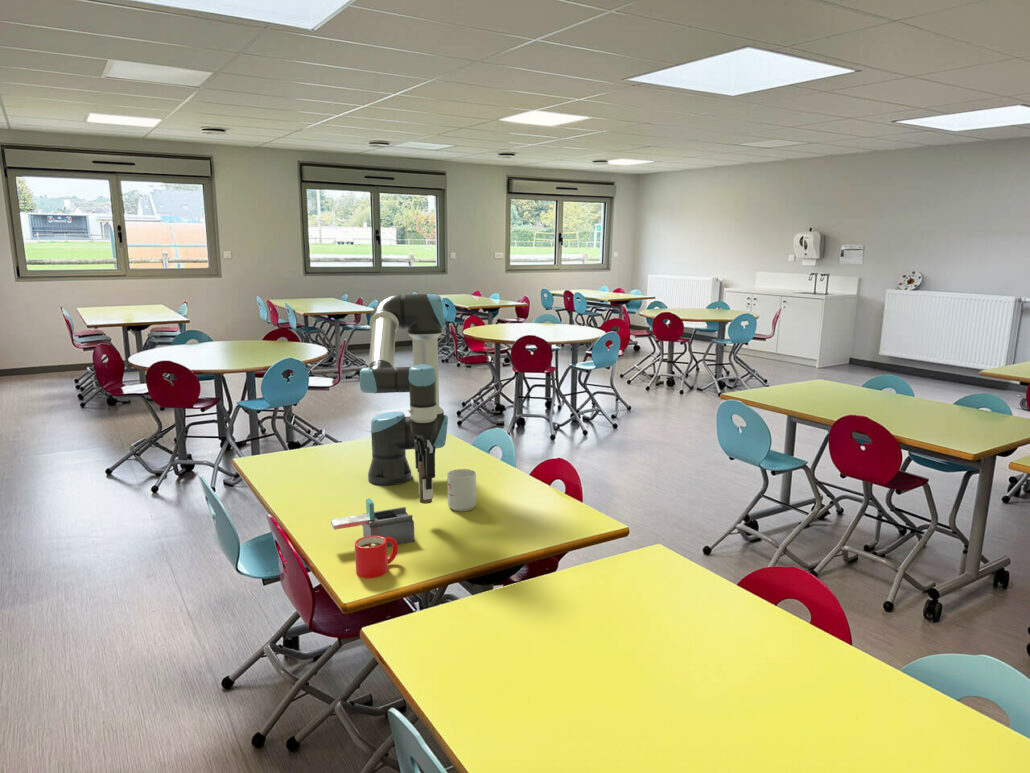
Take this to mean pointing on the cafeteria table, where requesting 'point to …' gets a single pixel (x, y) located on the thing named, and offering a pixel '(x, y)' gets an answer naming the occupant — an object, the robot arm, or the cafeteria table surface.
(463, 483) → the mug
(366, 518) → the grey teal l-shaped bracket
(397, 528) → the mount
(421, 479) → the dowel
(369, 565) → the mug
